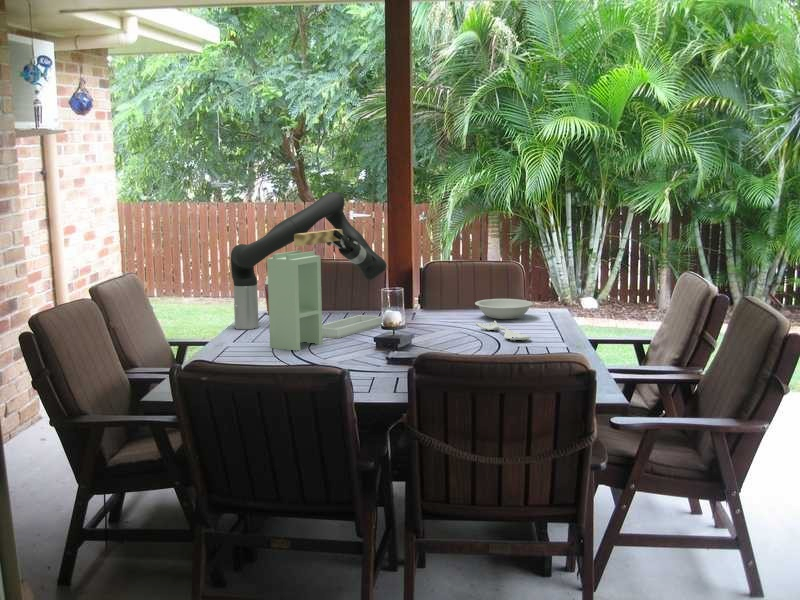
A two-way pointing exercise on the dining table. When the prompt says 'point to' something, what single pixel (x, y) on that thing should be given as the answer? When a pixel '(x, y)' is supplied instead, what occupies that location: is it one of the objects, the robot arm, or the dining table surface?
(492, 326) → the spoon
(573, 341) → the dining table surface
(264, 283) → the smoothie
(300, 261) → the stand
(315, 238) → the tan wooden bar
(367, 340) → the dining table surface
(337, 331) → the tray
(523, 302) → the soup bowl
